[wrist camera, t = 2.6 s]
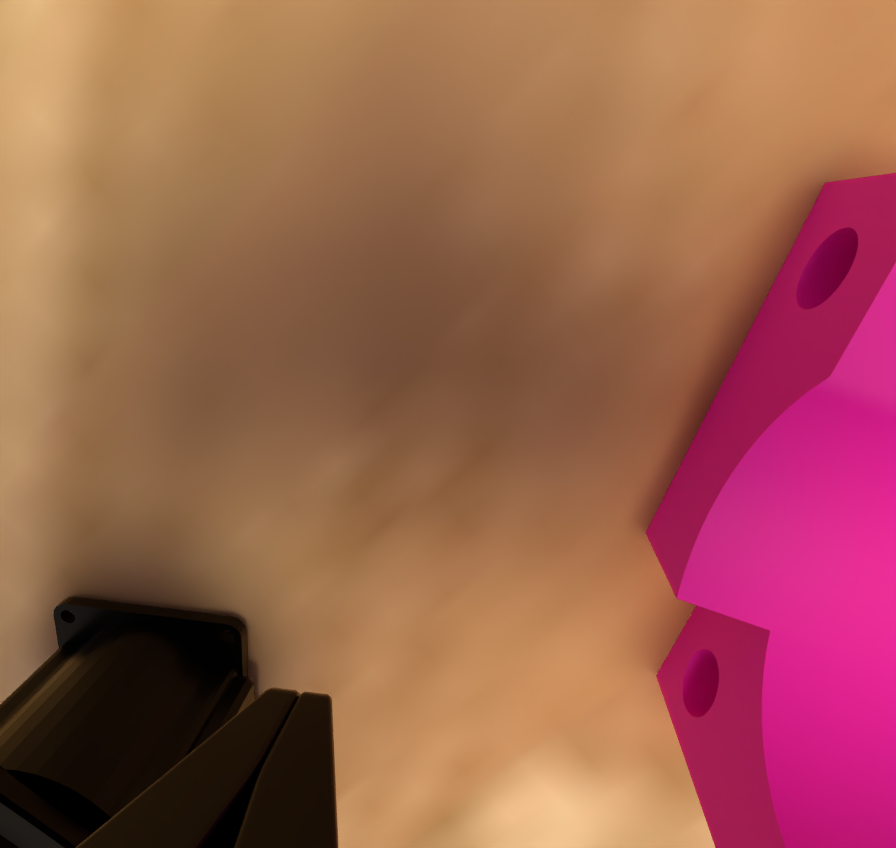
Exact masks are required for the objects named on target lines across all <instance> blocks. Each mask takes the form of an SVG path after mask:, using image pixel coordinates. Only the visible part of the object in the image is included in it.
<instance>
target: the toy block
mask: <svg viewBox="0 0 896 848" xmlns="http://www.w3.org/2000/svg"><path fill="white" fill-rule="evenodd" d="M646 535H647V537H648V539H649V541H650V543H651V545H652V547H653V549H654V552H655V554H656V556H657V558H658V560H659V562H660V564H661V566H662V568H663V571H664V573H665V575H666V577H667V579H668V581H669V583H670V585H671V588H672V590H673V592H674V594H675V596H676V598H677V599H680V600H683V601H686V602H688V603H691V604H694V605H697V606H696V607H695V609H694V611H693V613H692V614H691V616H690V618H689V620H688V621H687V623H686V625H685V627H684V628H683V630H682V632H681V633H680V635H679V637H678V639H677V640H676V642H675V644H674V646H673V647H672V649H671V651H670V653H669V654H668V656H667V658H666V660H665V661H664V663H663V665H662V667H661V668H660V670H659V672H658V674H657V675H656V676H657V679H658V682H659V685H660V688H661V691H662V694H663V697H664V699H665V702H666V705H667V708H668V711H669V714H670V717H671V720H672V723H673V726H674V728H675V731H676V734H677V737H678V740H679V743H680V746H681V749H682V752H683V754H684V757H685V760H686V763H687V766H688V769H689V772H690V775H691V778H692V781H693V783H694V786H695V789H696V792H697V795H698V798H699V801H700V804H701V807H702V809H703V812H704V815H705V818H706V821H707V824H708V827H709V830H710V833H711V836H712V838H713V841H714V844H715V847H716V848H896V173H892V174H884V175H877V176H870V177H863V178H856V179H848V180H841V181H834V182H827V183H825V184H824V186H823V188H822V190H821V192H820V194H819V196H818V198H817V200H816V202H815V204H814V206H813V208H812V210H811V212H810V214H809V216H808V218H807V219H806V221H805V223H804V225H803V227H802V229H801V231H800V233H799V235H798V237H797V239H796V241H795V243H794V245H793V247H792V249H791V251H790V253H789V255H788V256H787V258H786V260H785V262H784V264H783V266H782V268H781V270H780V272H779V274H778V276H777V278H776V280H775V282H774V284H773V286H772V288H771V290H770V292H769V293H768V295H767V297H766V299H765V301H764V303H763V305H762V307H761V309H760V311H759V313H758V315H757V317H756V319H755V321H754V323H753V325H752V327H751V329H750V331H749V332H748V334H747V336H746V338H745V340H744V342H743V344H742V346H741V348H740V350H739V352H738V354H737V356H736V358H735V360H734V362H733V364H732V366H731V368H730V369H729V371H728V373H727V375H726V377H725V379H724V381H723V383H722V385H721V387H720V389H719V391H718V393H717V395H716V397H715V399H714V401H713V403H712V405H711V406H710V408H709V410H708V412H707V414H706V416H705V418H704V420H703V422H702V424H701V426H700V428H699V430H698V432H697V434H696V436H695V438H694V440H693V442H692V443H691V445H690V447H689V449H688V451H687V453H686V455H685V457H684V459H683V461H682V463H681V465H680V467H679V469H678V471H677V473H676V475H675V477H674V479H673V481H672V482H671V484H670V486H669V488H668V490H667V492H666V494H665V496H664V498H663V500H662V502H661V504H660V506H659V508H658V510H657V512H656V514H655V516H654V518H653V519H652V521H651V523H650V525H649V527H648V529H647V531H646Z"/></svg>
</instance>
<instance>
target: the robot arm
mask: <svg viewBox="0 0 896 848" xmlns="http://www.w3.org/2000/svg"><path fill="white" fill-rule="evenodd" d="M70 611H71V612H72V613H73V614H74V615H73V614H72V613H71V612H70ZM54 620H55V626H56V633H57V639H58V645H59V649H58V650H57V651H56V652H55V653H54V654H53V655H52V656H51V657H50V658H49V659H48V660H47V661H46V662H45V663H43V664H42V665H41V666H40V667H39V668H38V669H37V670H36V671H35V672H34V673H33V674H32V675H31V676H30V677H29V678H28V679H27V680H26V681H25V682H23V683H22V684H21V685H20V686H19V687H18V688H17V689H16V690H15V691H14V692H13V693H12V694H11V695H10V696H9V697H8V698H7V699H6V700H5V701H4V702H2V703H1V704H0V848H338V828H337V806H336V783H335V761H334V738H333V716H332V699H331V697H330V696H329V695H327V694H320V693H312V692H303V693H302V694H300V693H299V692H297V691H296V690H288V689H281V688H270V689H268V690H266V691H265V692H264V693H262V694H261V695H260V696H259V697H257V698H256V699H255V695H254V683H253V681H252V679H251V678H250V677H248V663H247V634H246V627H245V625H244V624H243V622H242V621H240V620H239V619H237V618H235V617H231V616H223V615H215V614H207V613H199V612H191V611H183V610H174V609H166V608H158V607H150V606H142V605H134V604H126V603H118V602H110V601H102V600H94V599H86V598H78V597H69V598H67V599H65V600H64V601H62V602H61V603H60V604H59V605H58V606H57V607H56V608H55V610H54ZM225 630H227V631H230V632H231V633H232V634H233V635H230V634H228V633H227V632H226V631H225Z"/></svg>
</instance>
